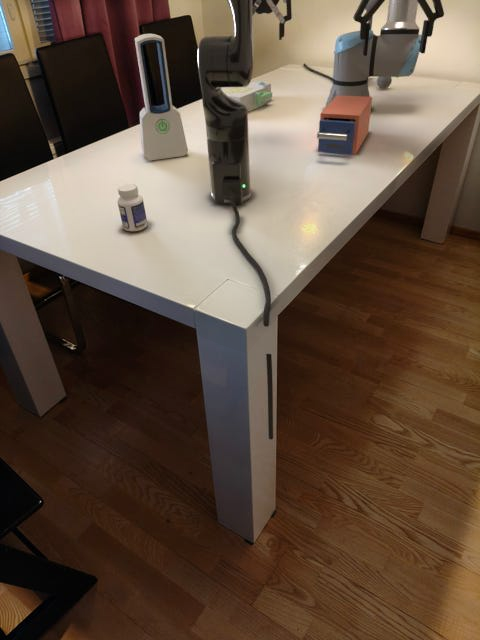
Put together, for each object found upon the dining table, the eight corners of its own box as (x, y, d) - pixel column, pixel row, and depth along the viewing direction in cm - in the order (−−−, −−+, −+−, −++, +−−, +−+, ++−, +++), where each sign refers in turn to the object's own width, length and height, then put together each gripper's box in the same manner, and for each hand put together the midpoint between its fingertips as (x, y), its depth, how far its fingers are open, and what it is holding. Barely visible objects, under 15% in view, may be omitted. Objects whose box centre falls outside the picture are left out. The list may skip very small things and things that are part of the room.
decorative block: (236, 77, 186) (280, 82, 177) (237, 95, 190) (280, 101, 181) (193, 93, 170) (239, 99, 161) (195, 112, 174) (240, 119, 165)
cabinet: (355, 154, 134) (359, 115, 128) (318, 151, 137) (320, 113, 131) (368, 132, 148) (372, 96, 141) (334, 130, 151) (336, 95, 145)
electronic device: (145, 161, 137) (124, 39, 118) (142, 153, 142) (122, 35, 124) (188, 155, 139) (175, 34, 121) (184, 147, 145) (170, 31, 126)
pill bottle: (149, 220, 107) (142, 181, 102) (146, 231, 103) (138, 191, 98) (125, 221, 107) (116, 182, 102) (121, 232, 103) (112, 193, 98)
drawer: (347, 161, 127) (350, 129, 122) (312, 158, 130) (314, 127, 125) (363, 133, 144) (366, 104, 139) (332, 131, 147) (334, 103, 142)
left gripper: (233, -33, 118) (237, 43, 128) (292, -36, 117) (291, 41, 127) (236, -34, 124) (239, 39, 134) (292, -37, 123) (291, 36, 133)
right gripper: (350, -53, 103) (342, 58, 116) (472, -61, 101) (450, 54, 114) (347, -54, 109) (339, 52, 122) (462, -61, 107) (442, 48, 120)
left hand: (264, 40), depth 131 cm, fingers open, 8 cm apart
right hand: (393, 53), depth 118 cm, fingers open, 13 cm apart
